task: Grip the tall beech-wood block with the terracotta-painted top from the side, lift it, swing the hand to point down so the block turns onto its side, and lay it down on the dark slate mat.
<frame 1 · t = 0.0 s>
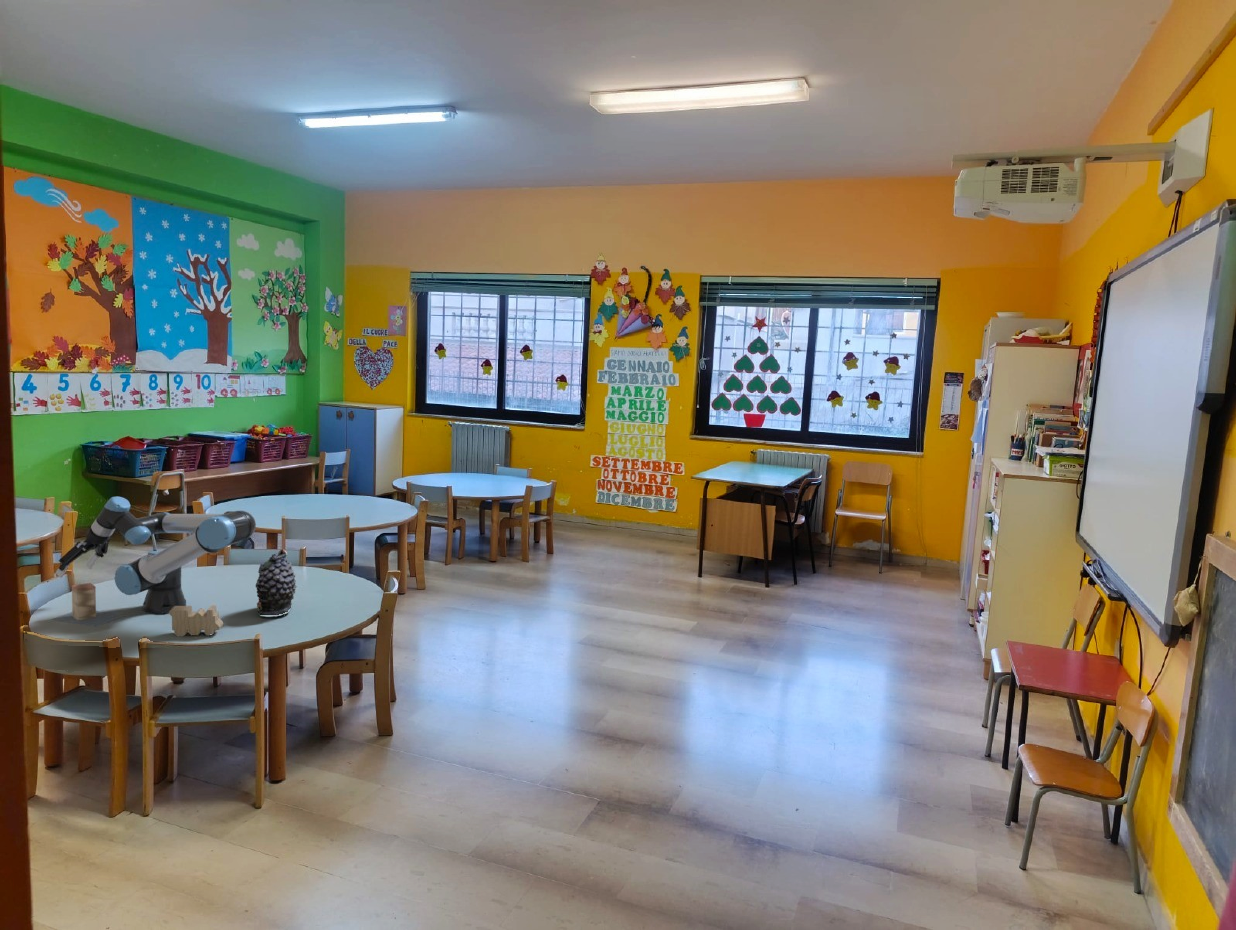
hand: (73, 571, 313), 15 cm above the table, tool tilted 35°, fingers open, 13 cm apart
slate mat: (88, 618, 306), on the table
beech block: (84, 616, 306), resting on slate mat
toy train: (196, 634, 298), on the table
dark pine cone: (275, 612, 327), on the table
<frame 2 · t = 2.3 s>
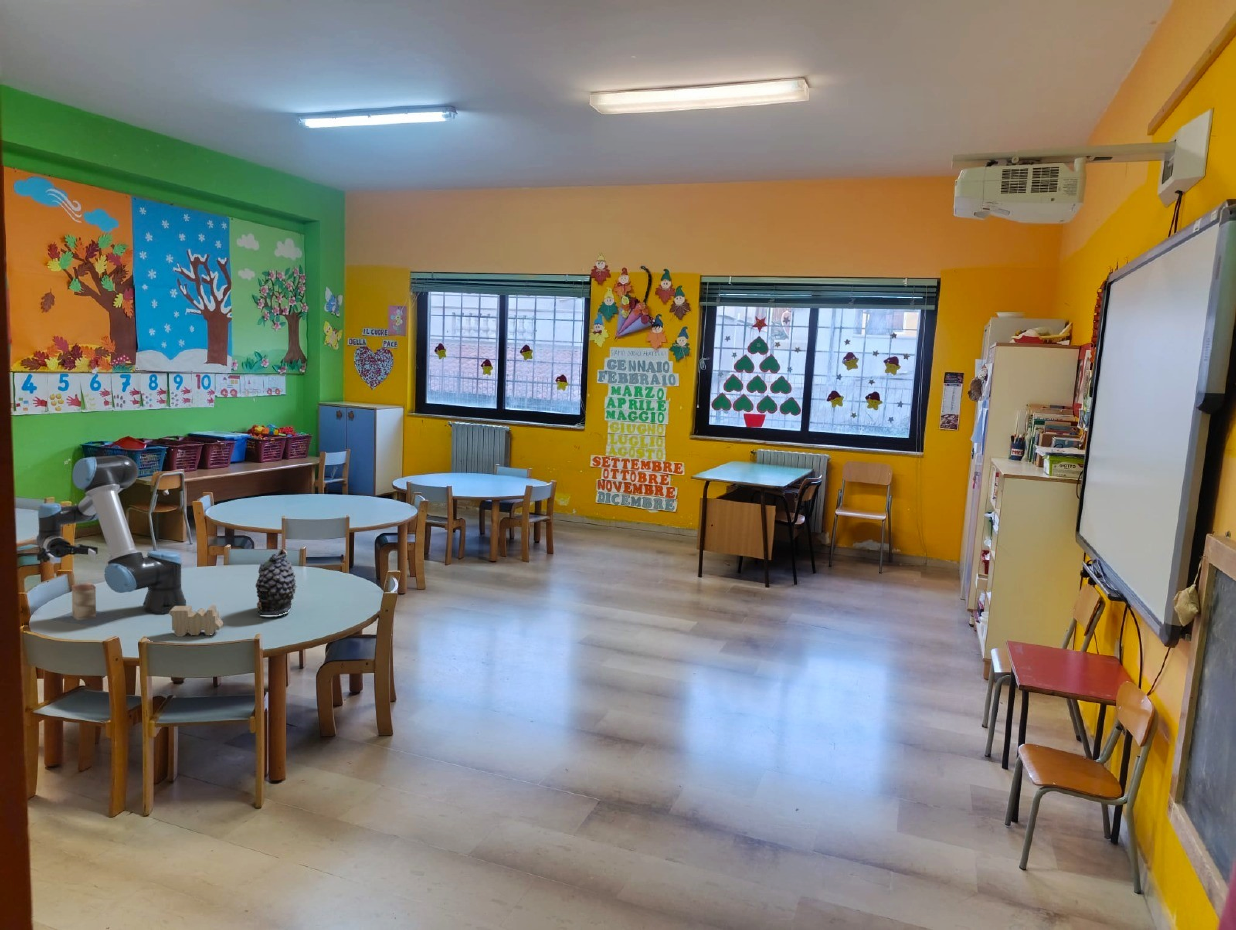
hand: (74, 558, 310), 21 cm above the table, tool horizontal, fingers open, 13 cm apart
nothing on the table moved.
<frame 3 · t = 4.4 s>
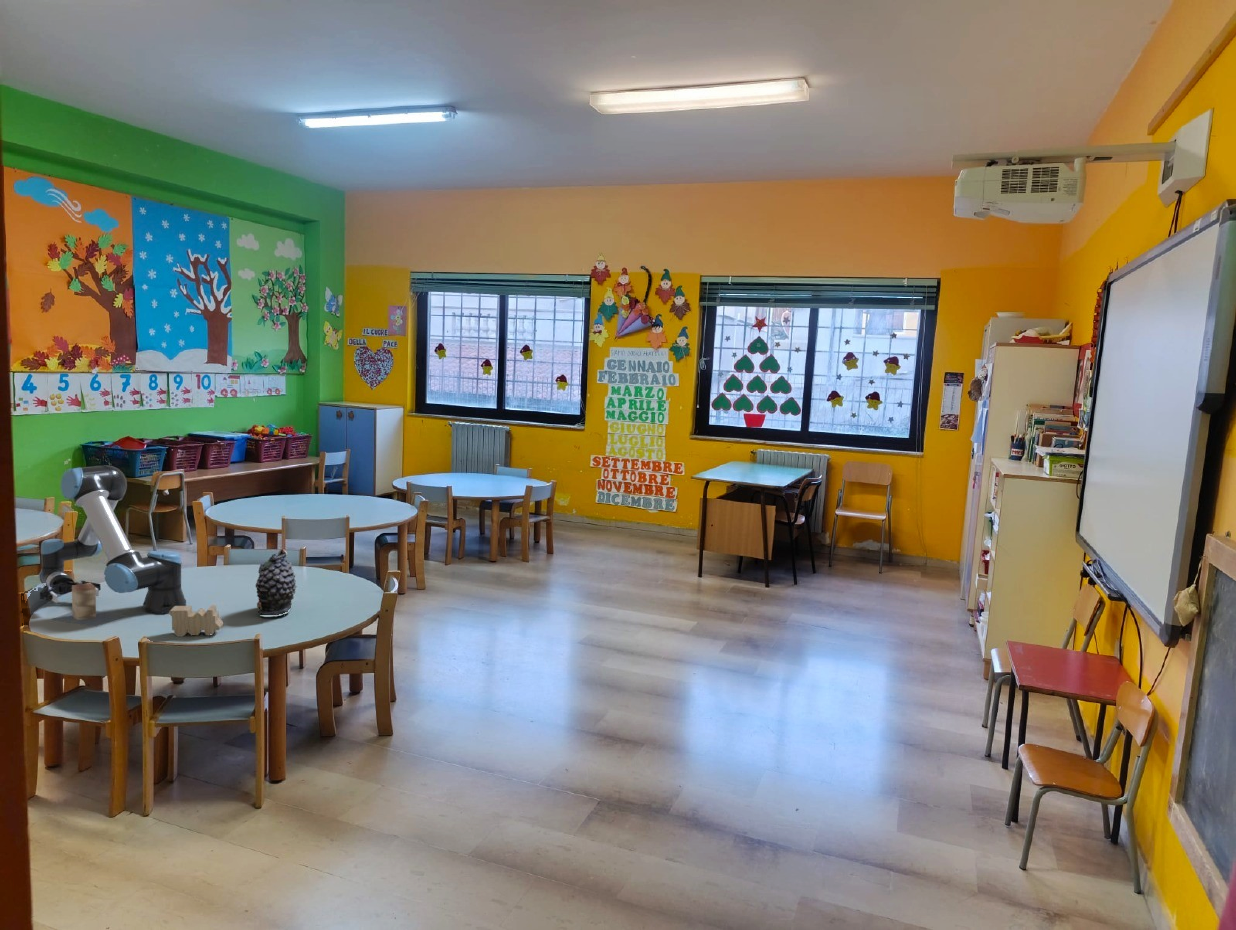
hand: (77, 596, 309), 7 cm above the table, tool horizontal, fingers open, 13 cm apart
nothing on the table moved.
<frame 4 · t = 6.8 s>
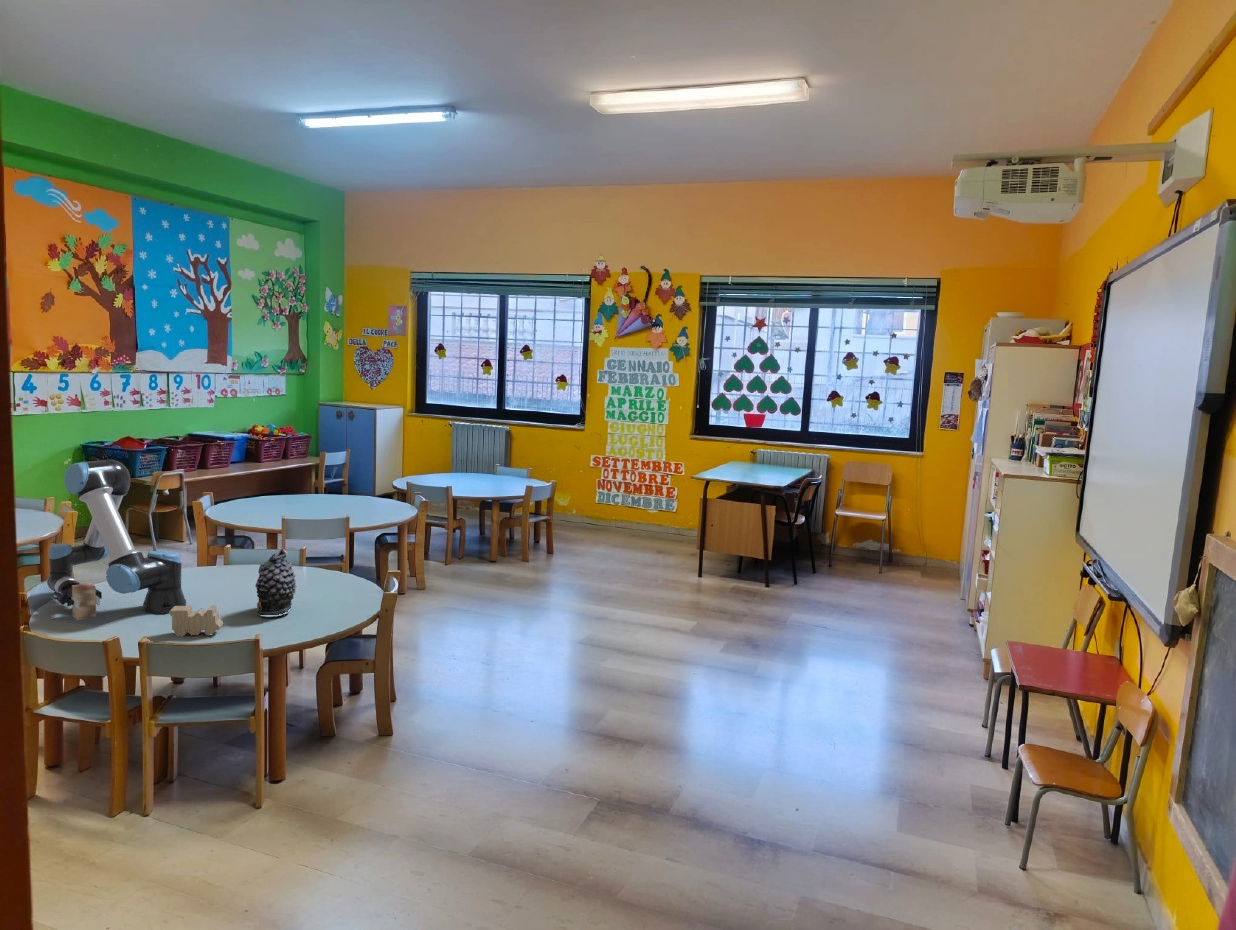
hand: (88, 603, 302), 7 cm above the table, tool horizontal, fingers closed on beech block, 6 cm apart
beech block: (84, 616, 306), resting on slate mat, touching gripper
everything else where it was.
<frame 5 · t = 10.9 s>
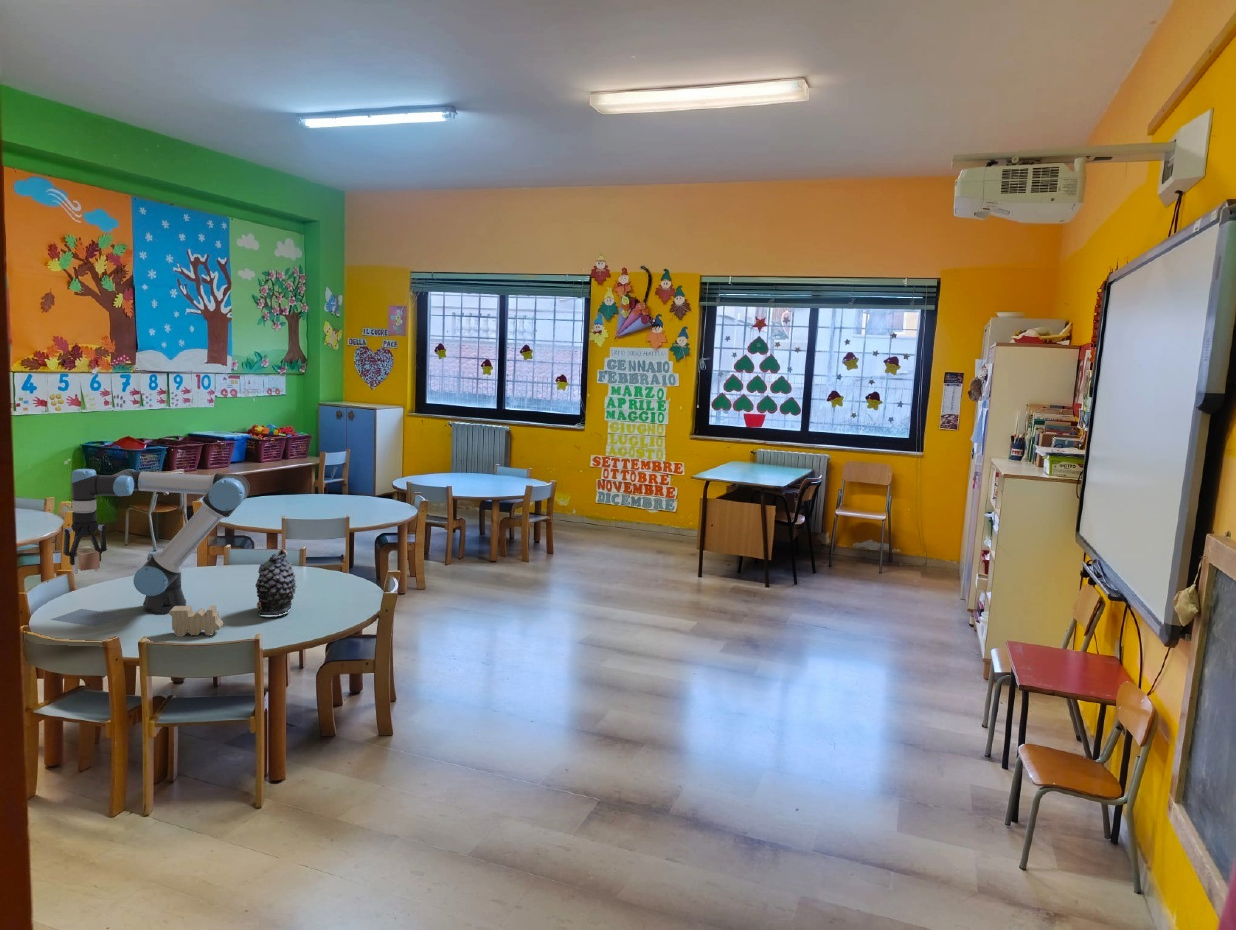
hand: (85, 571, 301), 19 cm above the table, tool pointing down, fingers closed on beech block, 6 cm apart
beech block: (79, 554, 305), point 24 cm above the table, tilted 90°, touching gripper
everything else where it was.
when the fingers open (1 cm above the table, at t = 15.0 s): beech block drops 3 cm, resting on slate mat.
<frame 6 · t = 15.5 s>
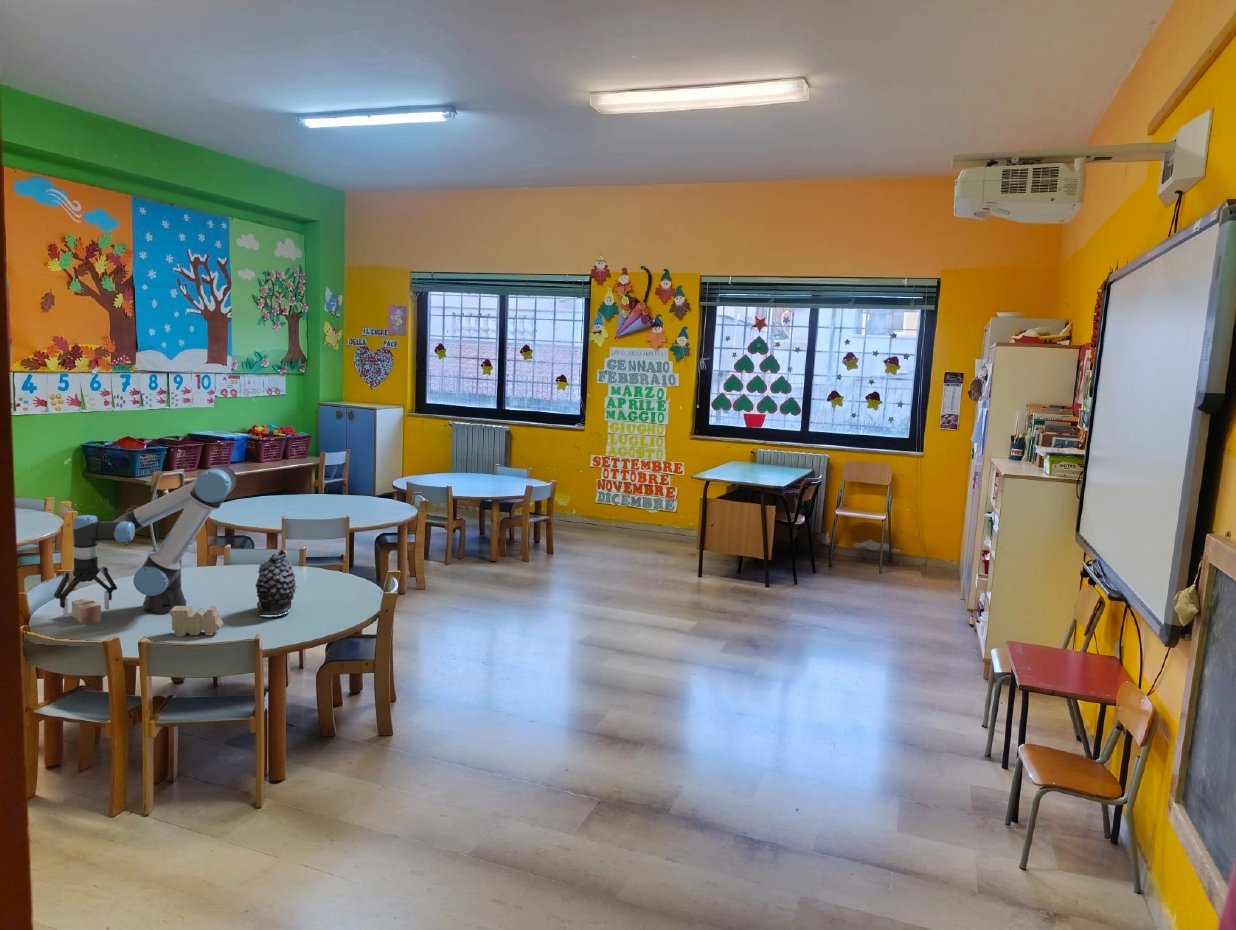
hand: (86, 612, 303), 3 cm above the table, tool pointing down, fingers open, 13 cm apart
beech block: (81, 607, 308), point 3 cm above the table, tilted 90°, touching slate mat
everything else where it was.
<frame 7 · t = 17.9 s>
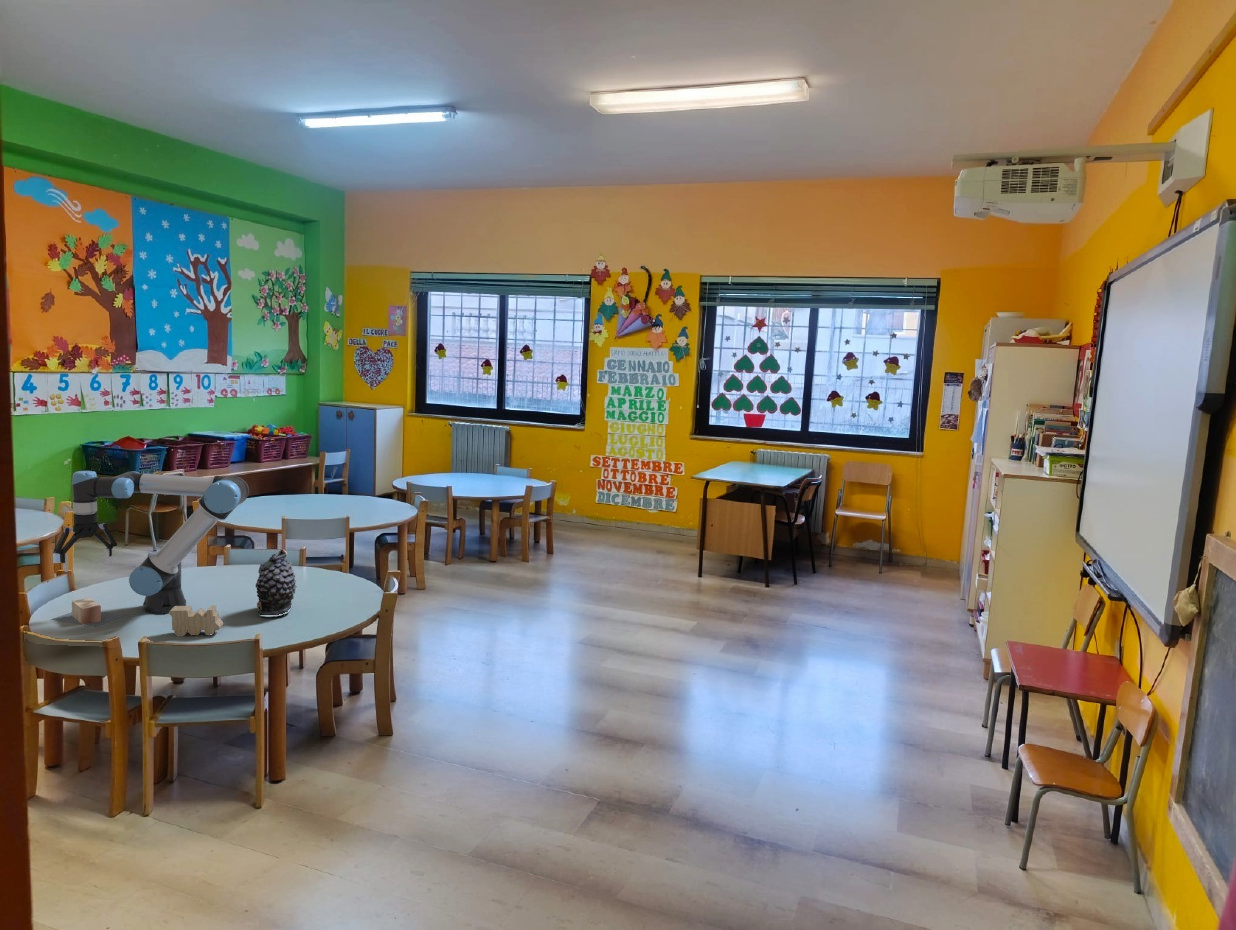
hand: (86, 568, 303), 20 cm above the table, tool pointing down, fingers open, 13 cm apart
nothing on the table moved.
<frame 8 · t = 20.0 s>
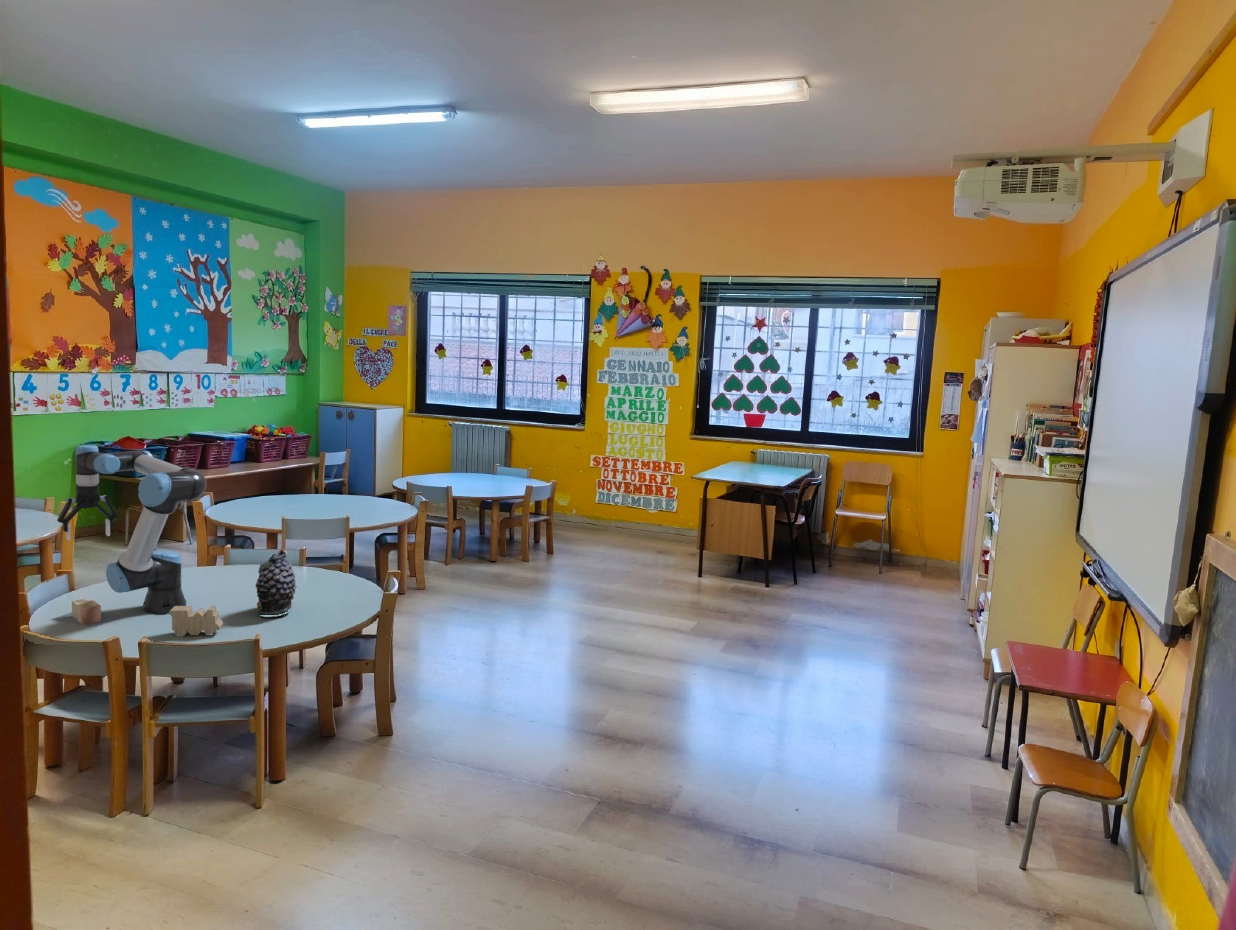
hand: (88, 537, 320), 27 cm above the table, tool pointing down, fingers open, 13 cm apart
nothing on the table moved.
at the end: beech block tilted 90°; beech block inside the target area on the slate mat (4.9 cm from its centre), point 3.4 cm above the slate mat's base; the gripper is holding nothing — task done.
